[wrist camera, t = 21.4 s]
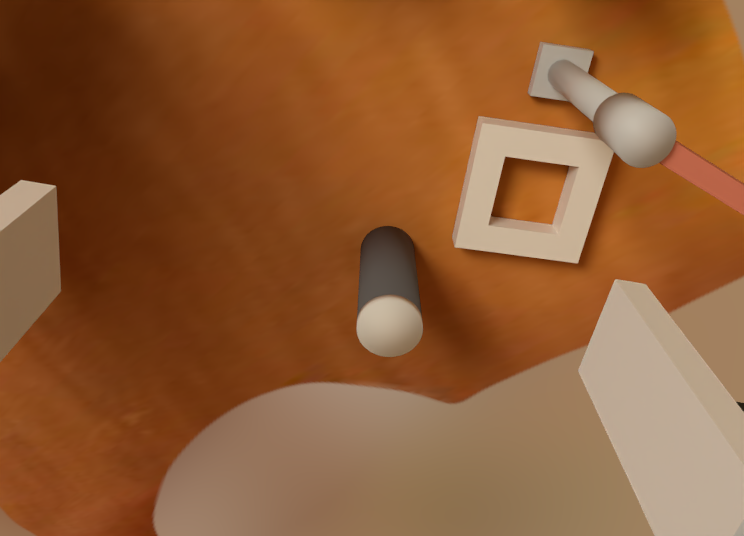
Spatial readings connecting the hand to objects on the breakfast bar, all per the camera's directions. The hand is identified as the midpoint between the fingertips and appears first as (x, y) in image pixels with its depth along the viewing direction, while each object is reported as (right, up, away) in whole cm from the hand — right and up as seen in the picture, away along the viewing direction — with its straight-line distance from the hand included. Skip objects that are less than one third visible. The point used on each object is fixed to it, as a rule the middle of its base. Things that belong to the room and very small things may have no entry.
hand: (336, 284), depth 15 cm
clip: (+19, +6, +21) cm, 29 cm away
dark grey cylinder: (+2, +2, +38) cm, 38 cm away
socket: (+14, +9, +34) cm, 38 cm away
